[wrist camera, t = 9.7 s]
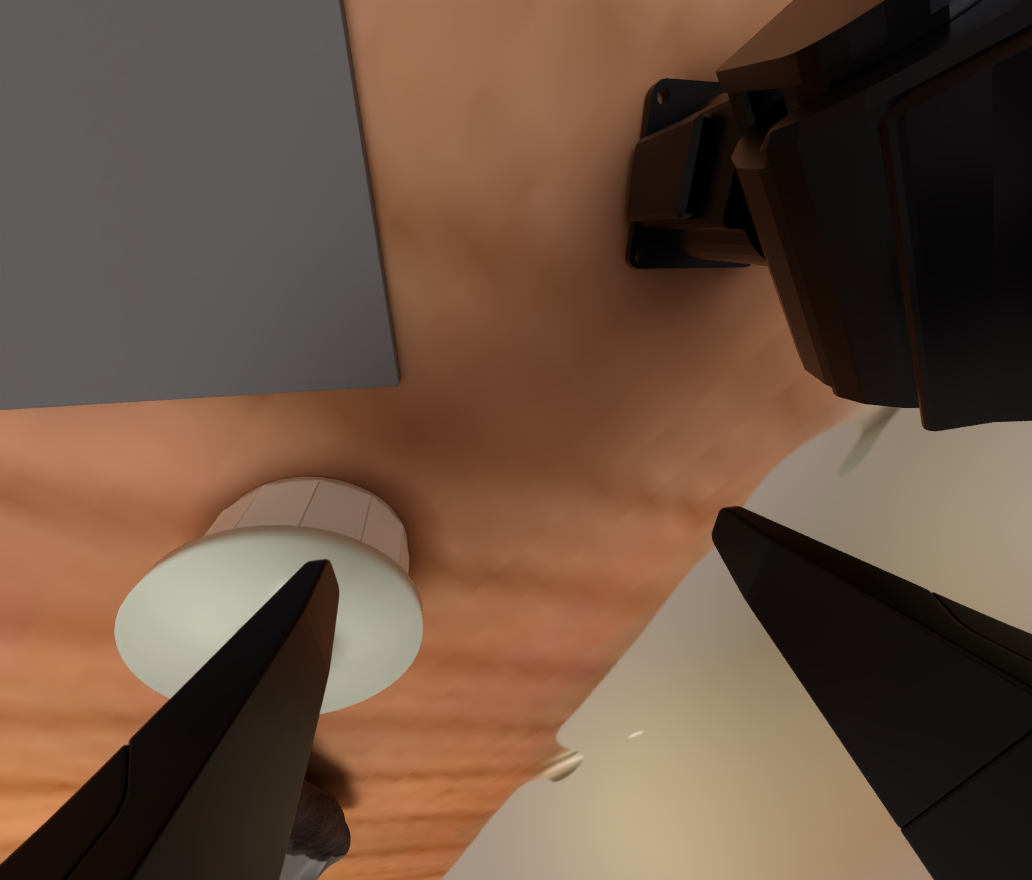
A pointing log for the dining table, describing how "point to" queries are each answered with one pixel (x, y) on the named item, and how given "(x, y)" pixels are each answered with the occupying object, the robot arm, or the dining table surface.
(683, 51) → the dining table surface
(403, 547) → the bowl
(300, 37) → the mat
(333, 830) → the rock
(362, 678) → the lid
